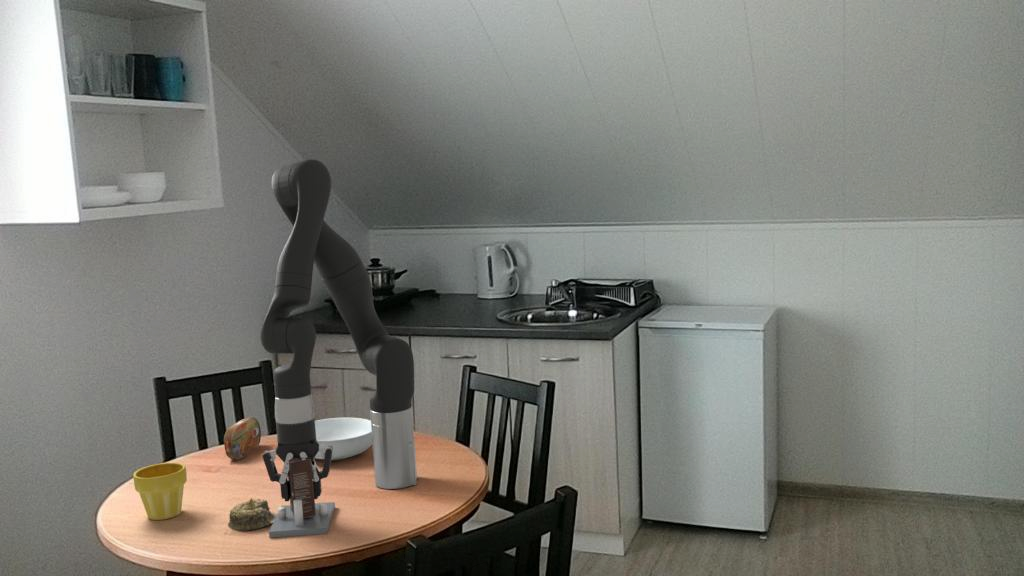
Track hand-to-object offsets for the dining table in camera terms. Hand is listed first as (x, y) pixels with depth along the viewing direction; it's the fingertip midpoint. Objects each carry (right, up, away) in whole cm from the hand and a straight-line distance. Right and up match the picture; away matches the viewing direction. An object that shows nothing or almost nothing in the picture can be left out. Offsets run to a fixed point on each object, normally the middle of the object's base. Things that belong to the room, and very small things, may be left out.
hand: (301, 498), depth 187 cm
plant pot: (-31, -5, +9) cm, 33 cm away
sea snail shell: (-10, -6, +2) cm, 12 cm away
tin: (-26, 0, +49) cm, 55 cm away
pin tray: (0, -5, +1) cm, 5 cm away
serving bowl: (-1, +1, +44) cm, 44 cm away
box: (0, -3, 0) cm, 3 cm away
